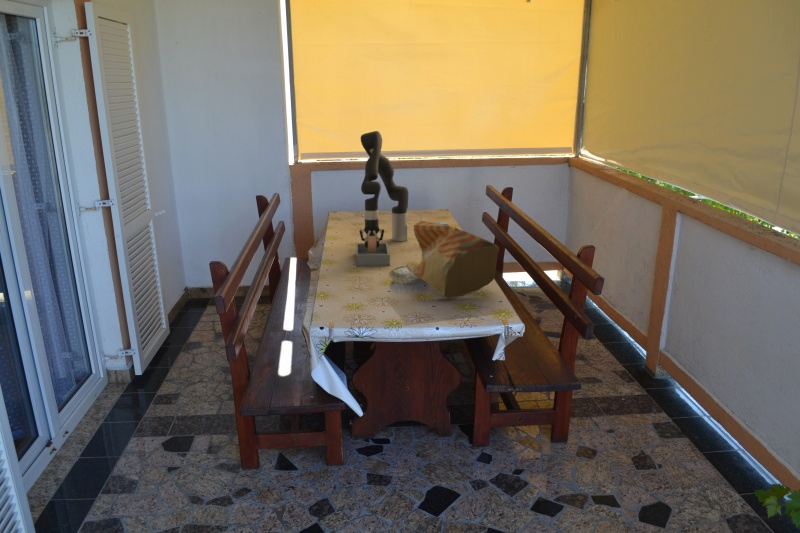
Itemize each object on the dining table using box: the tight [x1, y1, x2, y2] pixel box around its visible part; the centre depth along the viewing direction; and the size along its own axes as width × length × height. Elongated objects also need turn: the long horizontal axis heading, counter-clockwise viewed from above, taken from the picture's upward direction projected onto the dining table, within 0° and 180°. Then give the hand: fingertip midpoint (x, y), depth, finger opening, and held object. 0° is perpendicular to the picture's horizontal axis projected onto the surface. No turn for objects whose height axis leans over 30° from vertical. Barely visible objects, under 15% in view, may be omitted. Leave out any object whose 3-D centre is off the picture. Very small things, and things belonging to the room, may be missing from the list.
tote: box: [355, 242, 391, 267], centre depth 354 cm, size 18×24×6 cm
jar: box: [367, 236, 377, 252], centre depth 352 cm, size 5×5×9 cm
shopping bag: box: [405, 220, 500, 299], centre depth 305 cm, size 36×32×40 cm
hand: (372, 247), depth 353 cm, fingers closed on jar, 5 cm apart
